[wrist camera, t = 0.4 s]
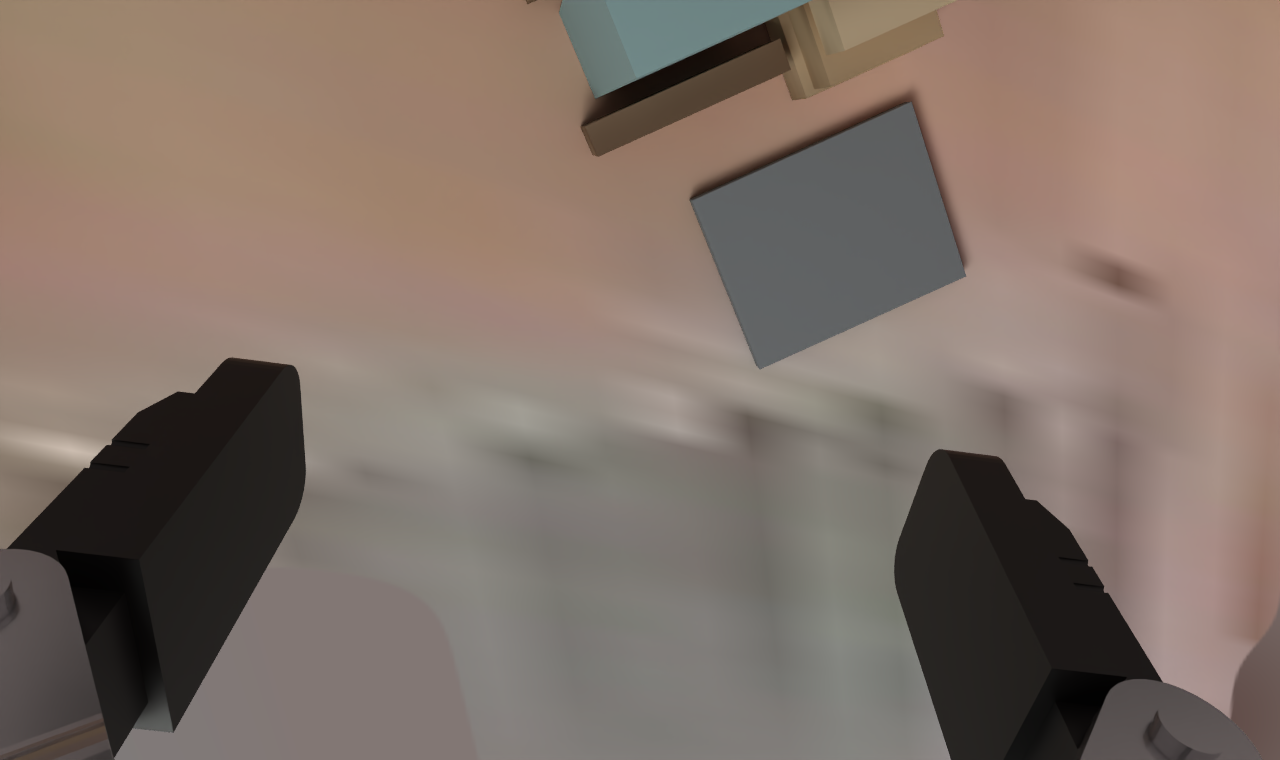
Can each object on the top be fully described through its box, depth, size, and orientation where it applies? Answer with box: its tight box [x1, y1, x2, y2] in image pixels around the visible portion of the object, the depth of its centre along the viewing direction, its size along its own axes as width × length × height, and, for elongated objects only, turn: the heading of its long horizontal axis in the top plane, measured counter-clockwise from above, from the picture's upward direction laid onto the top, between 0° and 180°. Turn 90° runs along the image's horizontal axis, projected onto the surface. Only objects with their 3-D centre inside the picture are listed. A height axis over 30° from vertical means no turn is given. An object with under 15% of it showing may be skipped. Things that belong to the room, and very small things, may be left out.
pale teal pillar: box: [559, 0, 812, 99], centre depth 29 cm, size 4×6×14 cm, turn 113°
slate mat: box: [690, 102, 966, 369], centre depth 38 cm, size 8×10×1 cm
